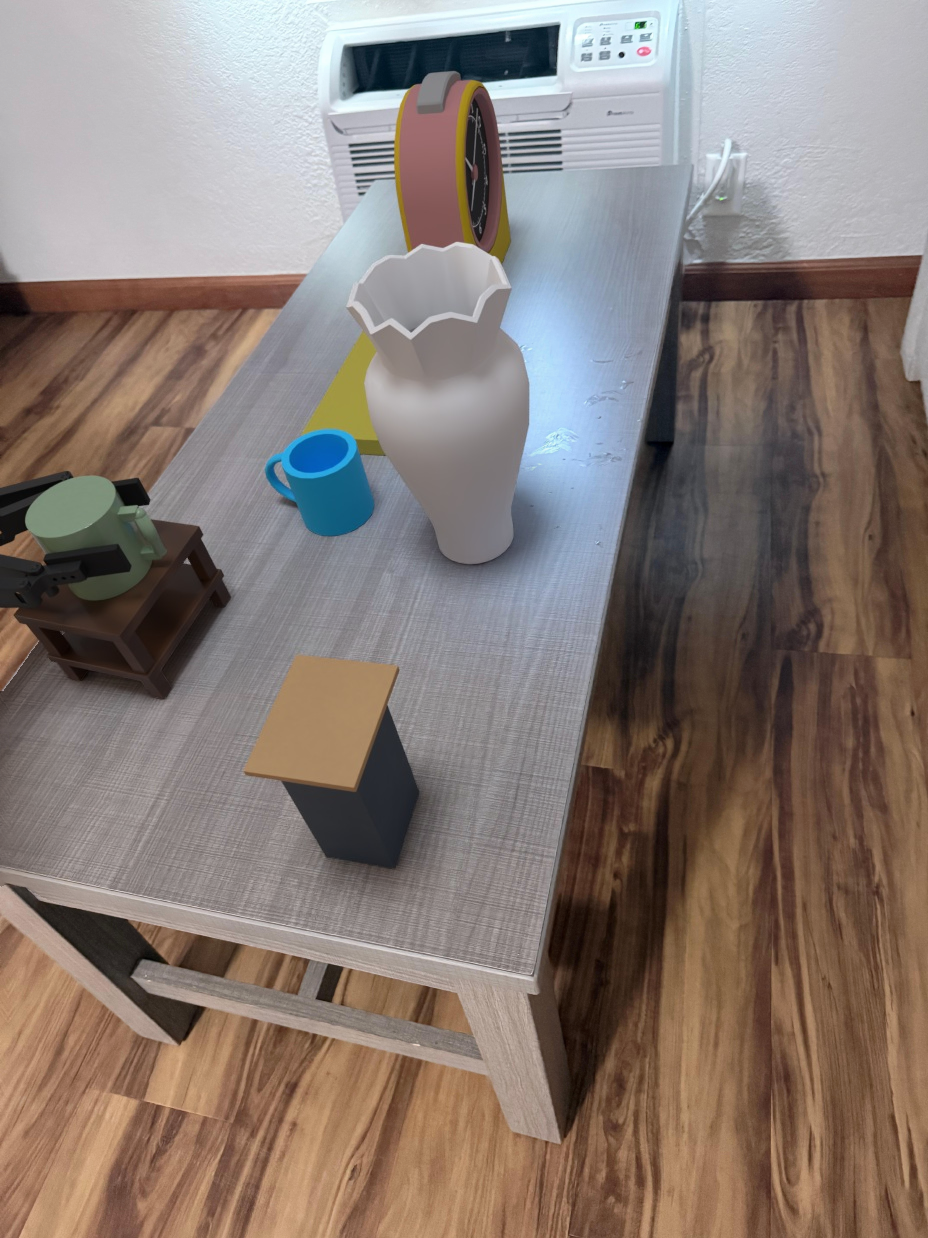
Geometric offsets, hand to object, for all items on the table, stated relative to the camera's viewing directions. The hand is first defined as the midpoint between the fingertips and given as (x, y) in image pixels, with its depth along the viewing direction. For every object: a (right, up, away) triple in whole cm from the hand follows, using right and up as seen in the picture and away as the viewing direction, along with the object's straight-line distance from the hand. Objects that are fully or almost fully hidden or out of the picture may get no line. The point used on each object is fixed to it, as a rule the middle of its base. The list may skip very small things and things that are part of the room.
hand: (134, 523), depth 79 cm
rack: (-2, -10, +12) cm, 16 cm away
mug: (+14, +4, +21) cm, 25 cm away
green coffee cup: (-3, -4, +4) cm, 6 cm away
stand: (+22, -25, -6) cm, 34 cm away
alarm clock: (+30, +41, +51) cm, 72 cm away
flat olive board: (+19, +20, +34) cm, 44 cm away
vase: (+31, 0, +14) cm, 34 cm away
